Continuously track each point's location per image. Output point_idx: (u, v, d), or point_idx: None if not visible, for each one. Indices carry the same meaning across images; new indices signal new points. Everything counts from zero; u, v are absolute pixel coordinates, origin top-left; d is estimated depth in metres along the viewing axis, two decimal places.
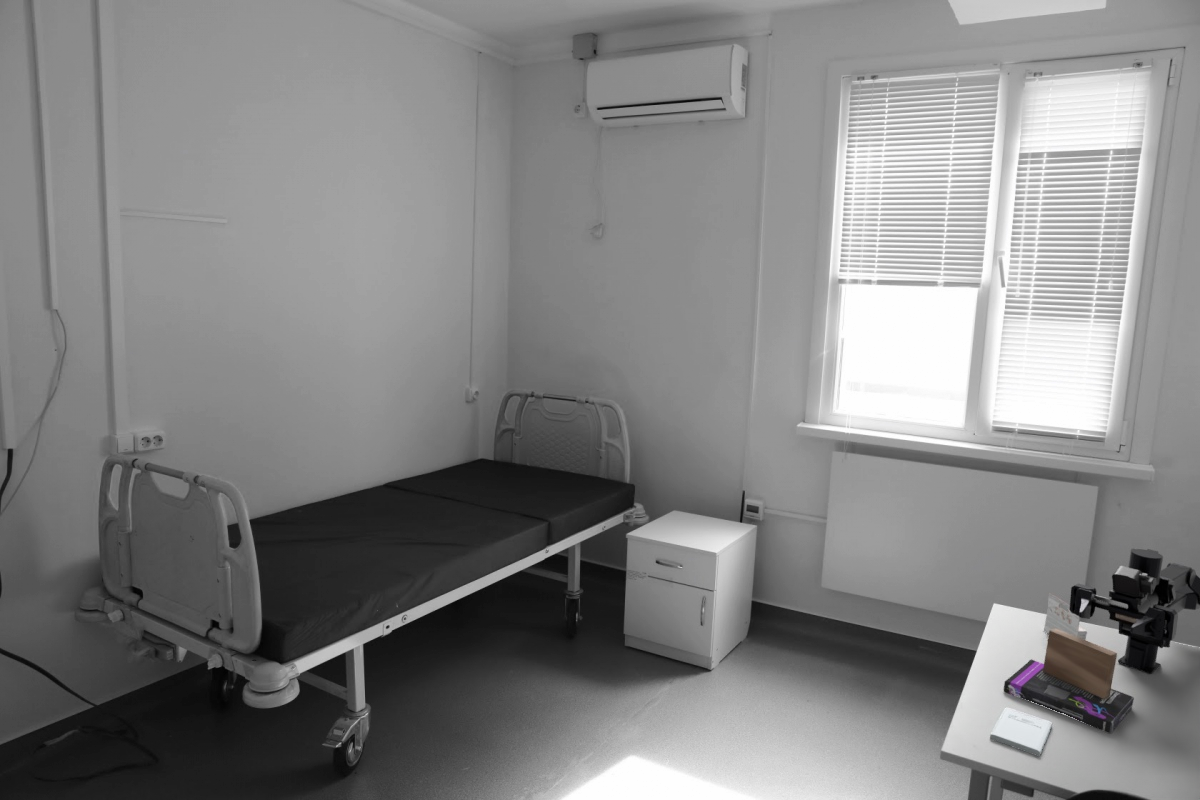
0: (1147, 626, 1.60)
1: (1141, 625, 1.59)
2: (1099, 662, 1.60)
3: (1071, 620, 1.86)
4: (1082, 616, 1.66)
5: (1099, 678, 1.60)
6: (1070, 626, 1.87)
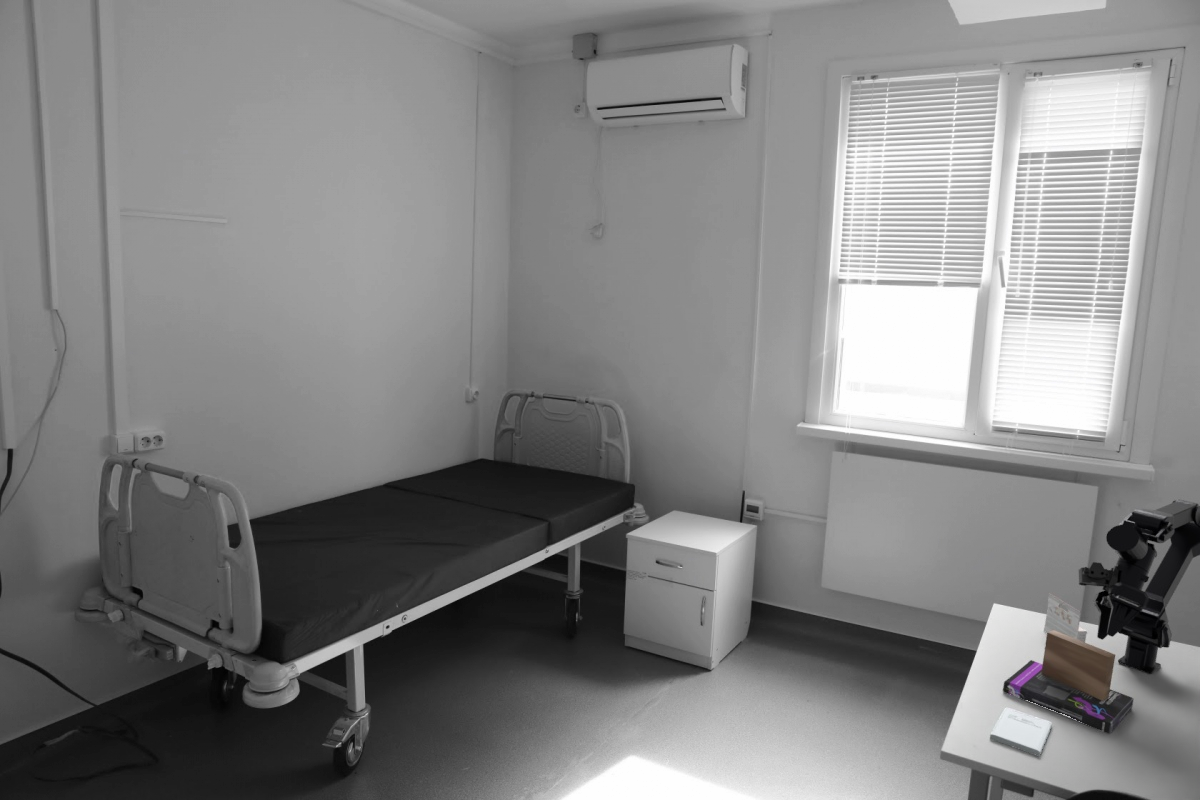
0: (1121, 613, 1.62)
1: (1112, 622, 1.63)
2: (1097, 664, 1.59)
3: (1071, 620, 1.86)
4: (1104, 636, 1.71)
5: (1098, 680, 1.59)
6: (1070, 626, 1.87)
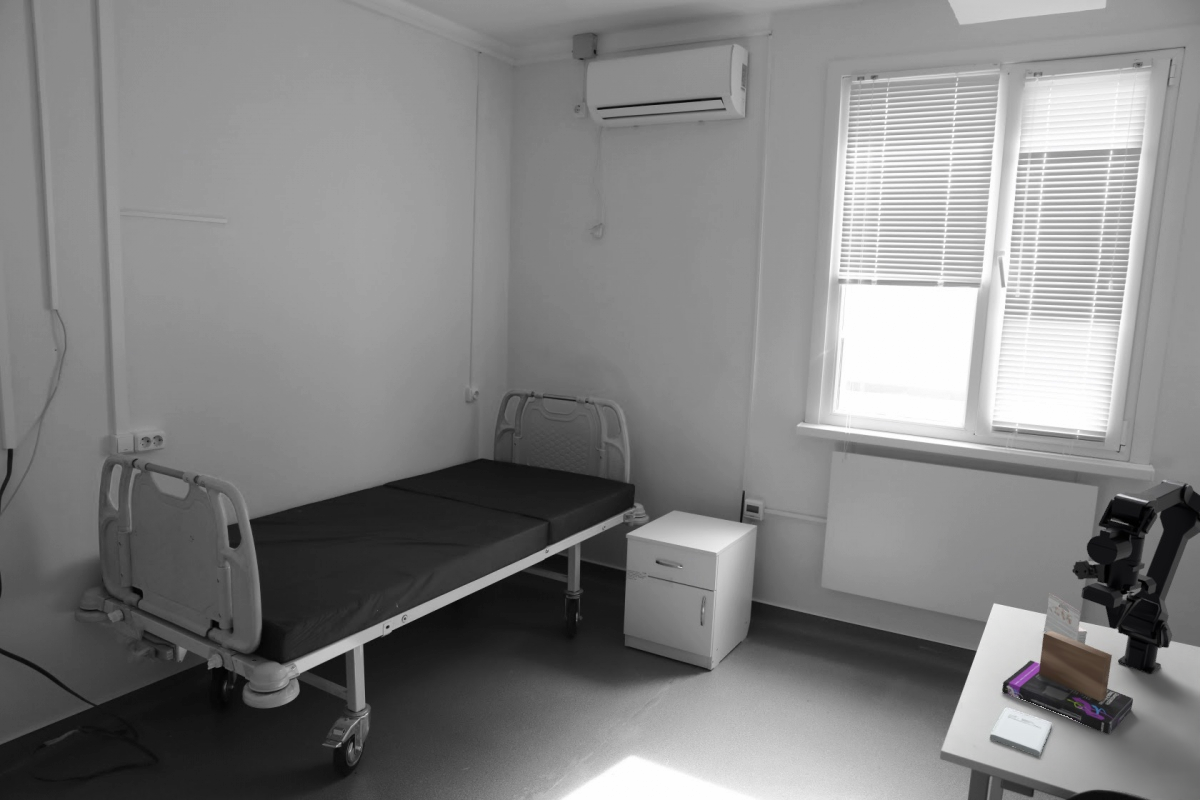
0: (1114, 607, 1.68)
1: (1109, 616, 1.69)
2: (1094, 665, 1.59)
3: (1071, 620, 1.86)
4: None
5: (1094, 681, 1.59)
6: (1070, 626, 1.87)
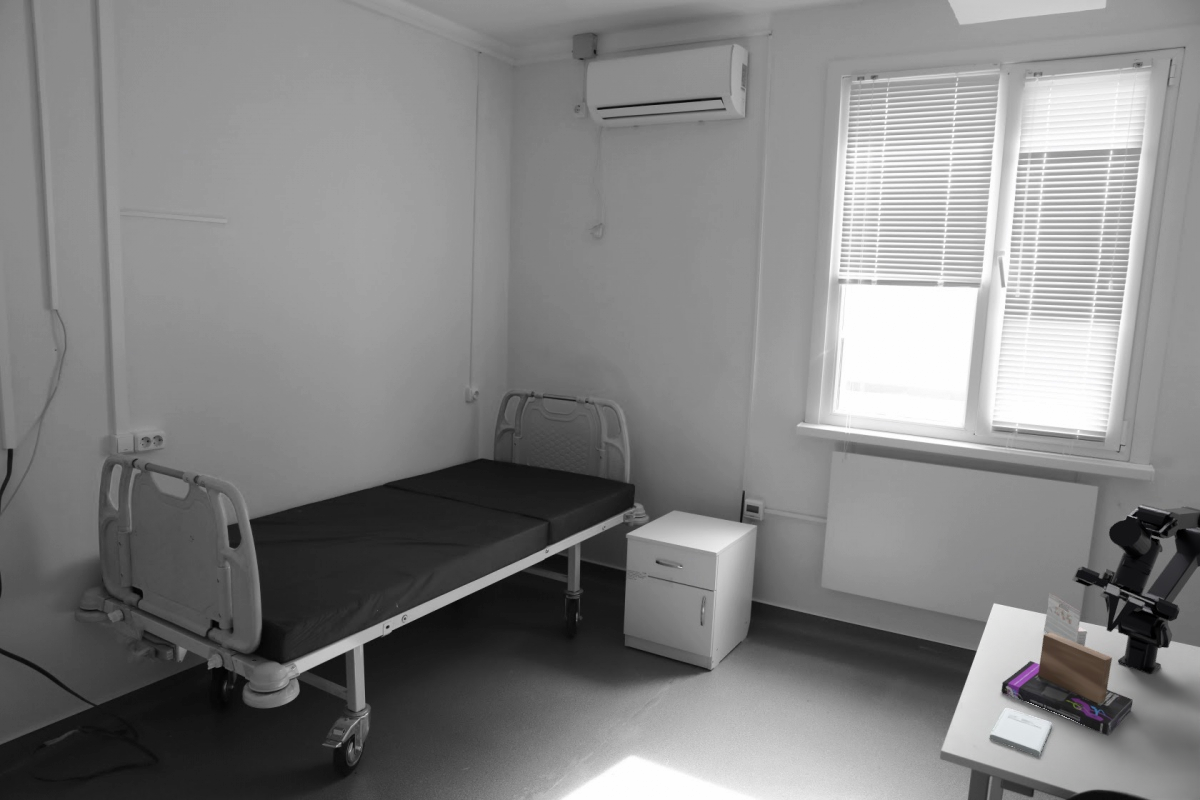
0: None
1: None
2: (1094, 667, 1.58)
3: (1071, 620, 1.86)
4: None
5: (1094, 683, 1.58)
6: (1070, 626, 1.87)
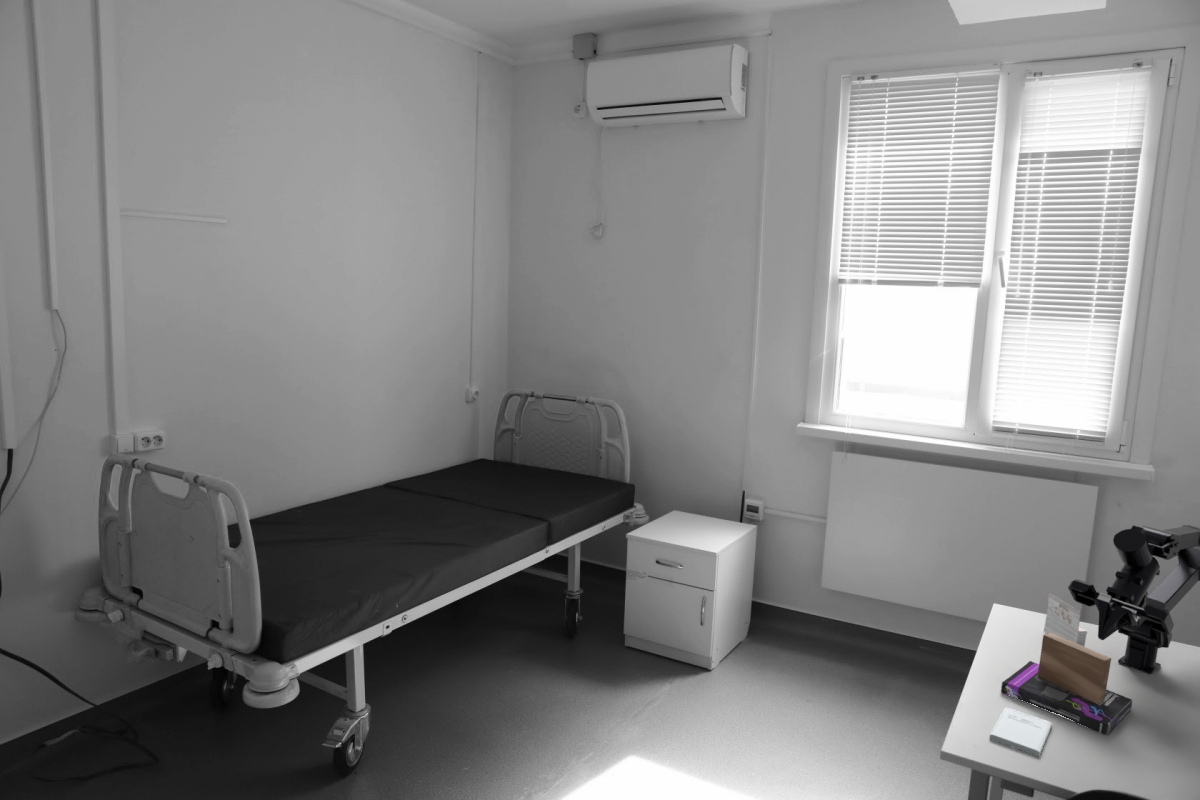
0: None
1: None
2: (1093, 667, 1.58)
3: (1071, 620, 1.86)
4: None
5: (1093, 683, 1.58)
6: (1070, 626, 1.87)
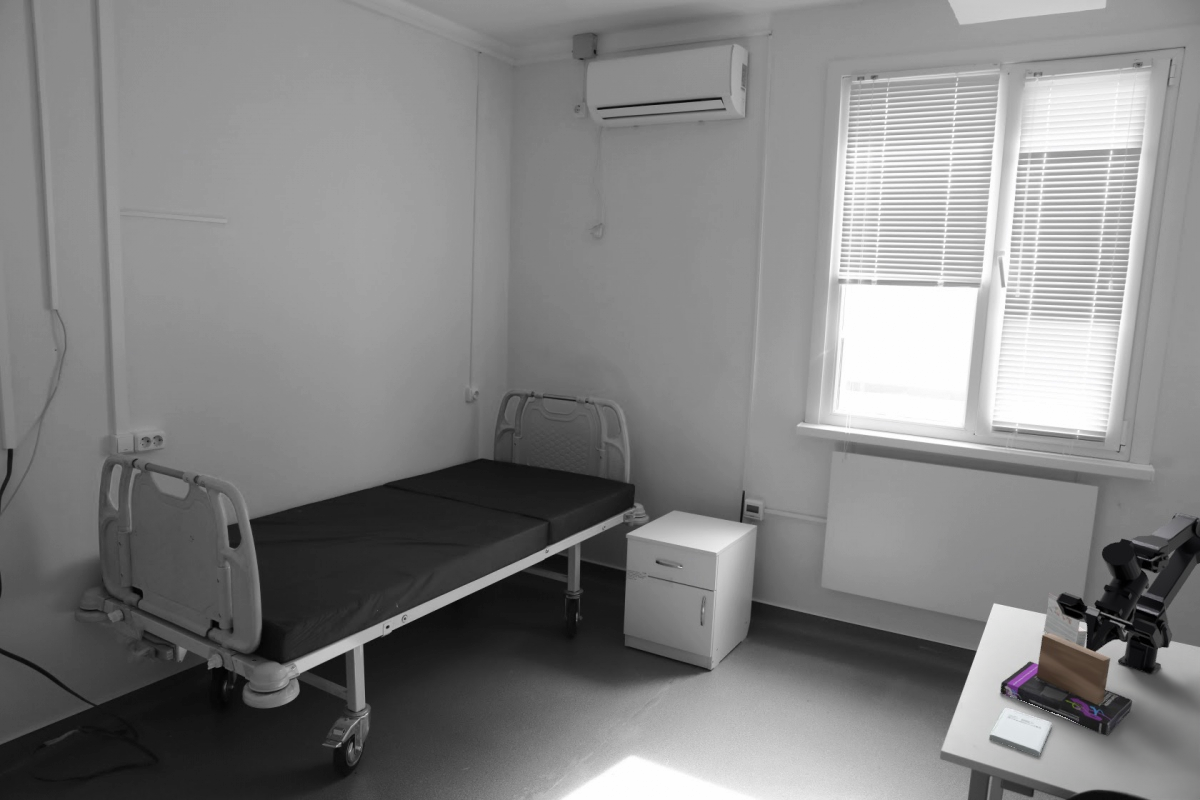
0: None
1: None
2: (1092, 667, 1.57)
3: (1071, 620, 1.86)
4: None
5: (1092, 684, 1.57)
6: (1070, 626, 1.87)
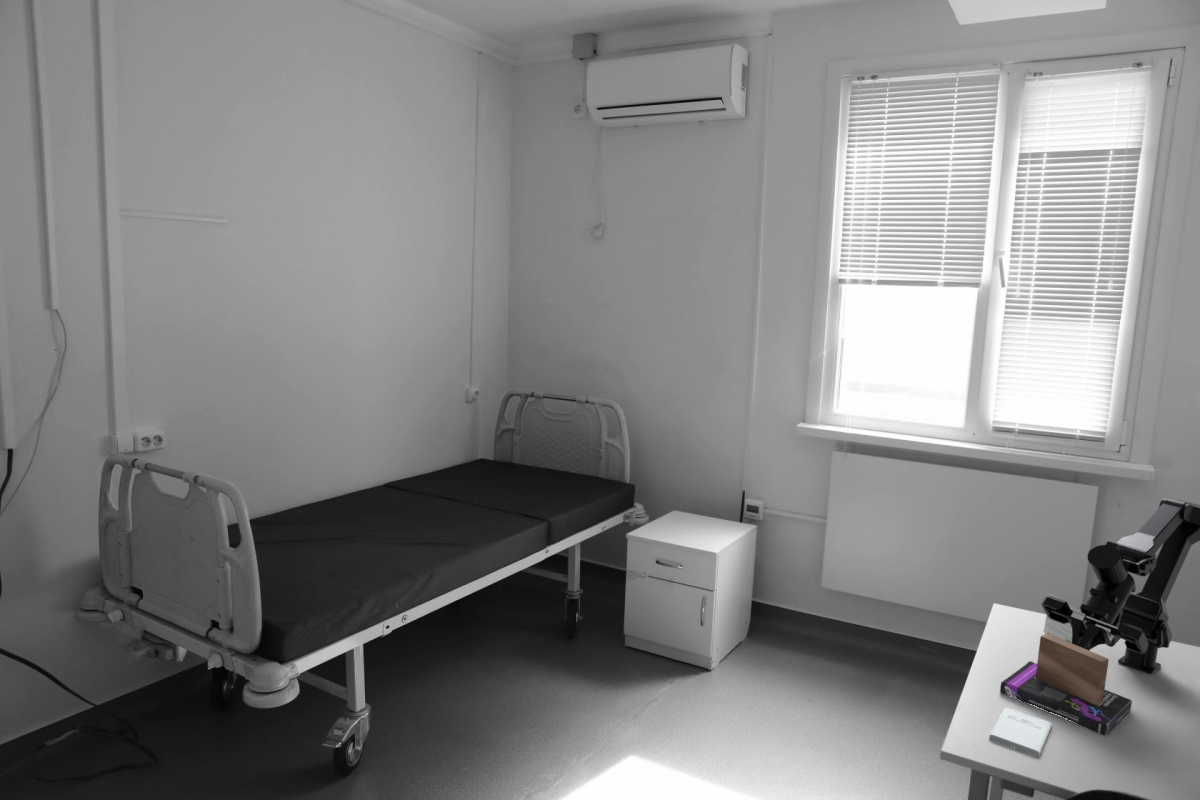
0: None
1: None
2: (1090, 668, 1.57)
3: None
4: None
5: (1091, 684, 1.57)
6: (1070, 626, 1.87)
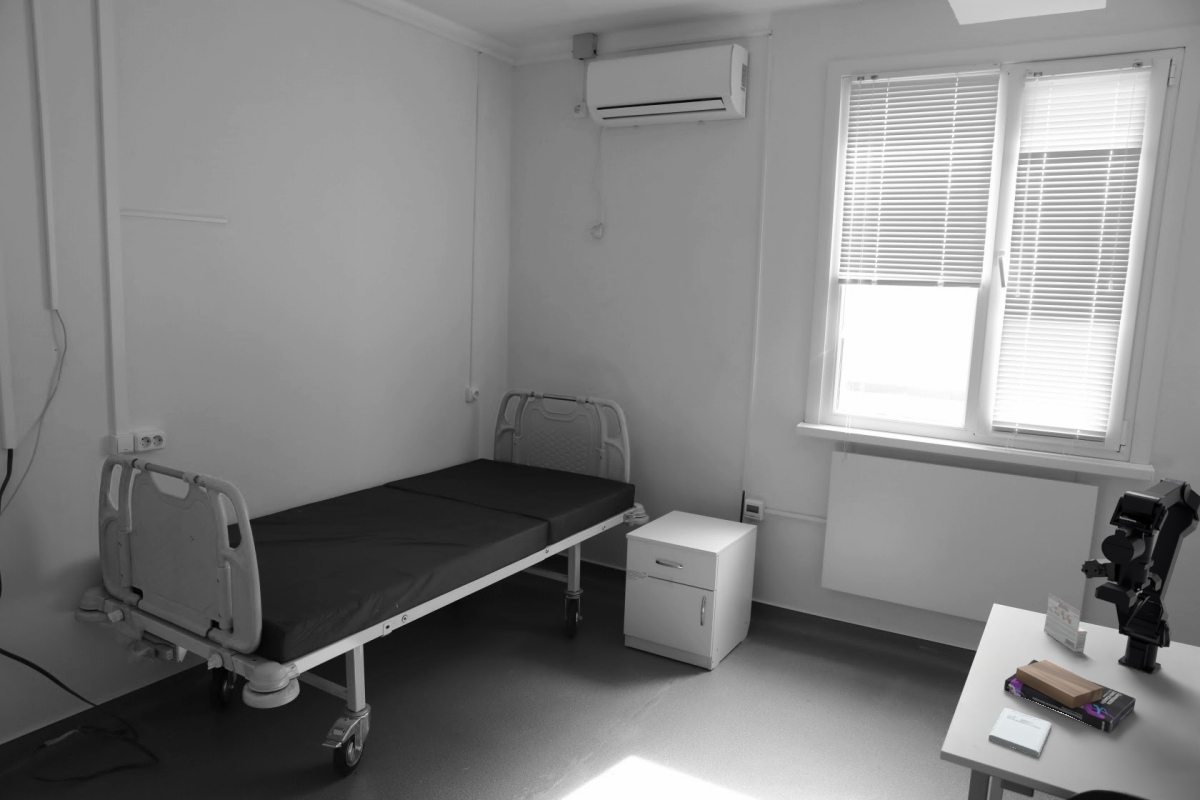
0: None
1: (1119, 615, 1.68)
2: None
3: (1071, 620, 1.86)
4: None
5: None
6: (1070, 626, 1.87)
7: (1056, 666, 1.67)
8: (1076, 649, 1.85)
